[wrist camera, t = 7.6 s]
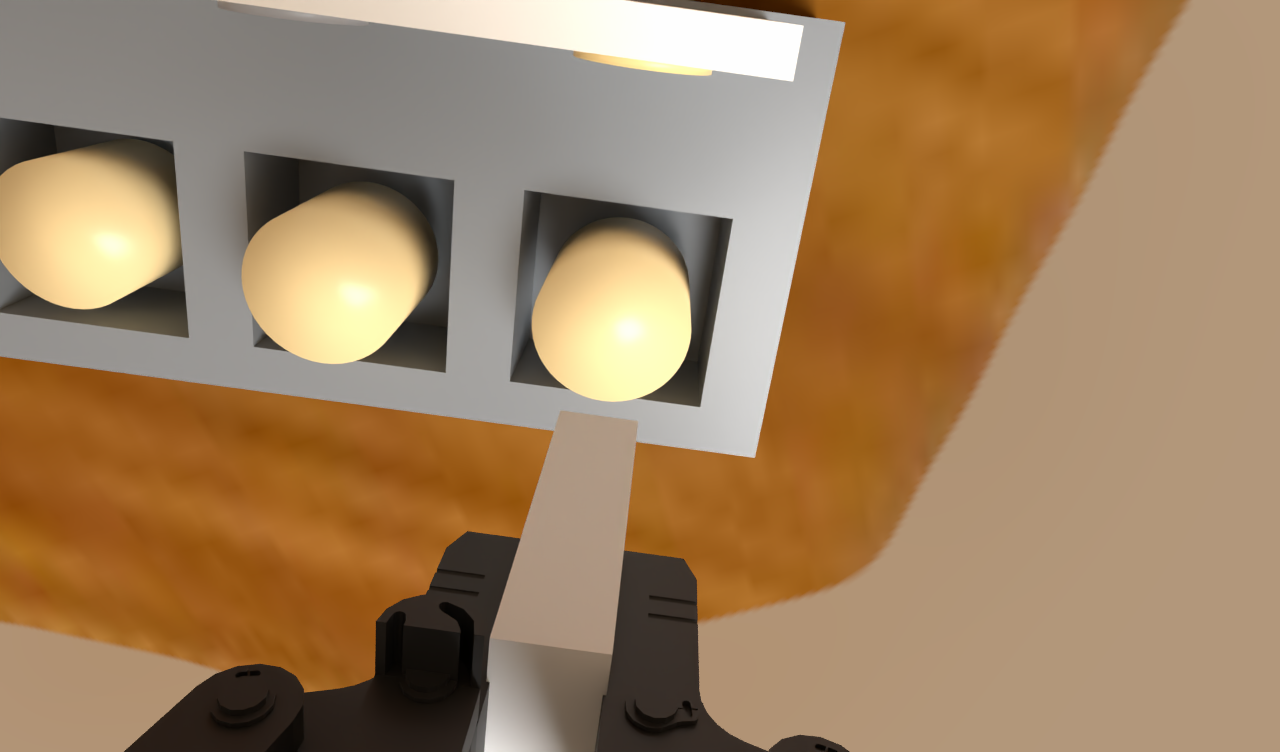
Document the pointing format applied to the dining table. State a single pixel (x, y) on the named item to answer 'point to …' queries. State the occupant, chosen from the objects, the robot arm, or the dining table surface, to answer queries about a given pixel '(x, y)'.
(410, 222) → the button middle
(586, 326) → the button right
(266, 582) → the dining table surface
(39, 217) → the button left
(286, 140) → the console
